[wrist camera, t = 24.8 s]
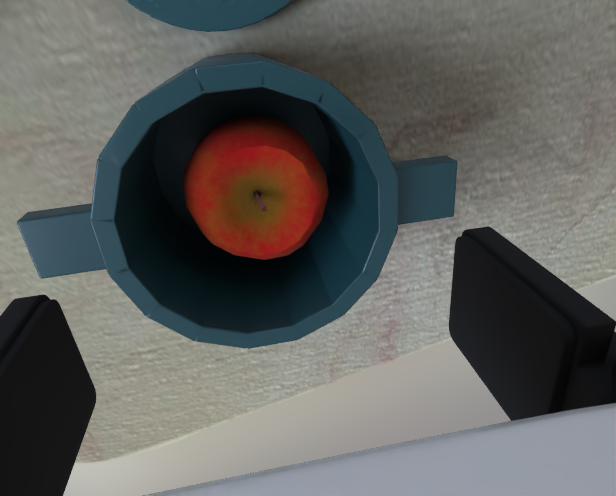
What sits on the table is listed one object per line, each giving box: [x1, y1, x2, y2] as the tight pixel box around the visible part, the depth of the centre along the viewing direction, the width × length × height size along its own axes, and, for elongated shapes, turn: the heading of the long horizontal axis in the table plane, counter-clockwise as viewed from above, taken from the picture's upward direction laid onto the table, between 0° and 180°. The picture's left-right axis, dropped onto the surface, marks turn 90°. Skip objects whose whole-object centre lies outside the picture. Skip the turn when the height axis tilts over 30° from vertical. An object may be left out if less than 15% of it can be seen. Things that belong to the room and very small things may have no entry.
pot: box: [17, 53, 457, 349], centre depth 20 cm, size 11×17×10 cm
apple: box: [183, 116, 329, 260], centre depth 21 cm, size 6×6×8 cm
